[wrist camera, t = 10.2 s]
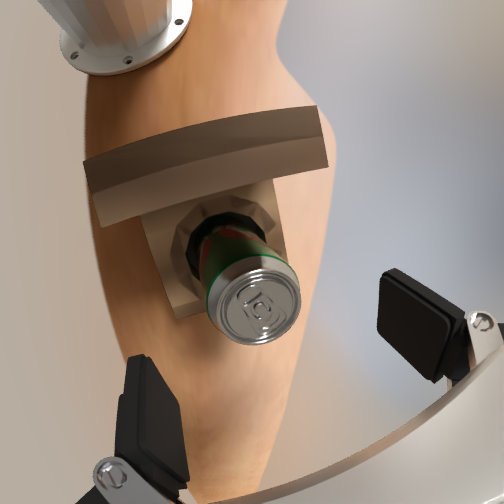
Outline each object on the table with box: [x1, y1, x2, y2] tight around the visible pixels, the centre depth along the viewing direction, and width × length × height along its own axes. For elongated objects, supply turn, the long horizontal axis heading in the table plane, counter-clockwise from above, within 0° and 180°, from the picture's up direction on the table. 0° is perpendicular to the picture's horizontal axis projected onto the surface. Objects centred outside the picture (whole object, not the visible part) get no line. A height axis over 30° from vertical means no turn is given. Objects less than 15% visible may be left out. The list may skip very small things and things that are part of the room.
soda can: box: [194, 215, 301, 345], centre depth 18 cm, size 5×5×12 cm
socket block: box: [83, 105, 329, 319], centre depth 18 cm, size 14×10×12 cm
